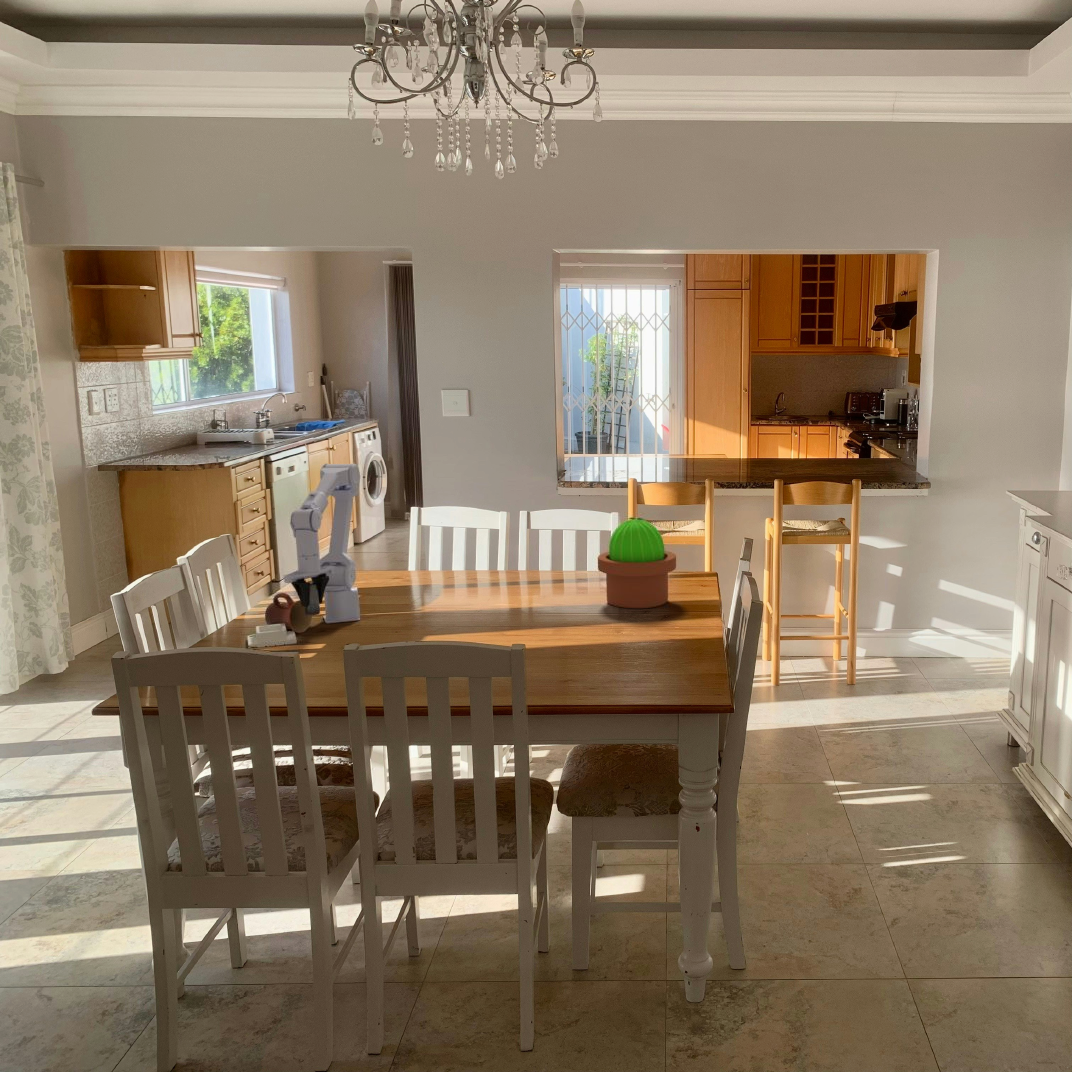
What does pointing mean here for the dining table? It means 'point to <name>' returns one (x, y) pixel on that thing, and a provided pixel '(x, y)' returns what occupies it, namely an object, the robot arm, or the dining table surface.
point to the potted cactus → (636, 566)
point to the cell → (313, 600)
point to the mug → (288, 614)
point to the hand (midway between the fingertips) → (312, 604)
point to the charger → (271, 636)
